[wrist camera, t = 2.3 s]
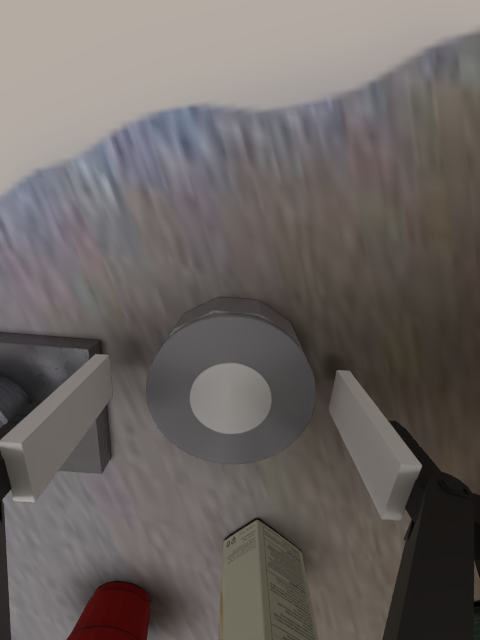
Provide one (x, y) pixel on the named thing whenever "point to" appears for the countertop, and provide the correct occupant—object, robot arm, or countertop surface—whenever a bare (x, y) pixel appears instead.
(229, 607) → the skincare box
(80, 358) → the gray flat-based fixture
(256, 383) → the cap
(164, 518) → the countertop surface
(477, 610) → the coffee jar
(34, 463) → the robot arm
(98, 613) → the plastic cup
